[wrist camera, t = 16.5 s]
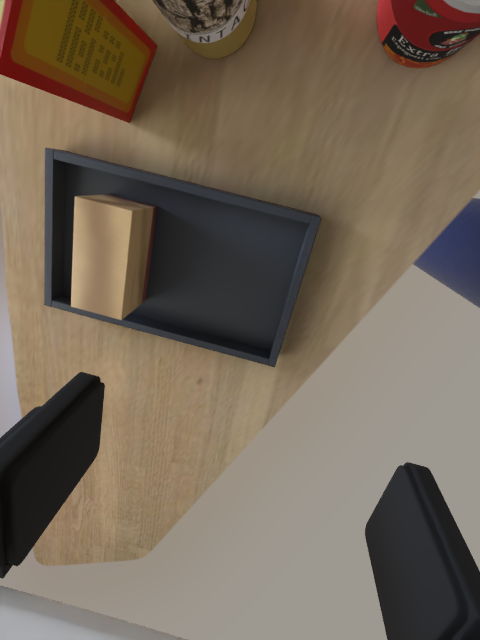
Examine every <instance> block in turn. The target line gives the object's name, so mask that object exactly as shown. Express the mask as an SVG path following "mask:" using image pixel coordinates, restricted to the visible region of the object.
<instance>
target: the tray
mask: <svg viewBox="0 0 480 640" xmlns="http://www.w3.org/2000/svg"><path fill="white" fill-rule="evenodd" d="M103 194H112V195H115V196H119V197H123V198H127V199H131V200H135V201H139V202H143V203H147V204H151V205H155V206H158V211H157V218H156V226H155V234H154V242H153V250H152V257H151V265H150V273H149V281H148V289H147V297H146V300H145V301H144V302H143V303H142V304H141V305H139V306H138V307H137V308H136V309H135V310H133V311H132V312H131V313H130V314H128V315H127V316H126V317H125V318H123V319H122V320H119V319H115V318H112V317H108V316H104V315H100V314H97V313H93V312H89V311H86V310H82V309H78V308H74V307H71V289H72V261H73V234H74V206H75V196H87V195H103ZM320 221H321V217H320V216H319V215H317V214H313V213H309V212H305V211H301V210H297V209H294V208H290V207H286V206H282V205H278V204H274V203H270V202H266V201H262V200H258V199H254V198H250V197H246V196H242V195H238V194H234V193H230V192H226V191H222V190H218V189H214V188H210V187H206V186H202V185H198V184H194V183H190V182H187V181H183V180H179V179H175V178H171V177H167V176H163V175H159V174H155V173H151V172H147V171H143V170H139V169H135V168H131V167H127V166H123V165H119V164H115V163H111V162H107V161H103V160H99V159H95V158H91V157H87V156H83V155H80V154H76V153H72V152H68V151H64V150H58V149H51V148H45V303H44V305H46V306H50V307H54V308H58V309H61V310H65V311H69V312H72V313H76V314H80V315H84V316H87V317H91V318H95V319H98V320H102V321H106V322H109V323H113V324H117V325H121V326H124V327H128V328H132V329H135V330H139V331H143V332H146V333H150V334H154V335H158V336H161V337H165V338H169V339H172V340H176V341H180V342H183V343H187V344H191V345H195V346H198V347H202V348H206V349H209V350H213V351H217V352H220V353H224V354H228V355H232V356H235V357H239V358H243V359H246V360H250V361H254V362H258V363H261V364H265V365H268V366H272V367H275V365H276V362H277V359H278V355H279V352H280V349H281V346H282V342H283V339H284V336H285V333H286V330H287V326H288V323H289V320H290V317H291V314H292V310H293V307H294V304H295V301H296V298H297V294H298V291H299V288H300V285H301V282H302V278H303V275H304V272H305V269H306V265H307V262H308V259H309V256H310V253H311V249H312V246H313V243H314V240H315V237H316V233H317V230H318V227H319V224H320Z"/></svg>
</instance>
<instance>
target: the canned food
mask: <svg viewBox="0 0 480 640" xmlns="http://www.w3.org/2000/svg"><path fill="white" fill-rule="evenodd" d="M377 26H378V33H379V36H380V40H381V43H382V45H383V47H384V49H385V51H386V52H387V54H388V55H389V56H390V57H391V58H392V59H393V60H394V61H396V62H397V63H399V64H401V65H404V66H406V67H412V68H425V67H430V66H433V65H436V64H439V63H441V62H443V61H444V60H446V59H448V58H450V57H451V56H452V55H453V54H455V53H456V52H457V51H459V50H460V49H461V48H463V47H464V46H465V45H466V44H468V43H469V42H470V41H472V40H473V39H474V38H476V37H477V36H478V35H479V34H480V0H379V2H378V9H377Z"/></svg>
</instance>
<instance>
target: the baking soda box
mask: <svg viewBox="0 0 480 640" xmlns="http://www.w3.org/2000/svg"><path fill="white" fill-rule="evenodd" d="M156 48H157V45H156V44H155V43H154V42H153V41H152V40H151V39H150V38H149V37H148V36H147V35H146V33H145V32H144V31H143V30H142V29H141V28H140V27H139V26H138V25H137V24H136V23H135V22H134V21H133V20H132V19H131V18H130V17H129V16H128V15H127V14H126V13H125V12H124V11H123V10H122V9H121V7H120V6H119V5H118V4H117V3H116V2H115V1H114V0H0V74H1V75H4V76H6V77H9V78H12V79H14V80H17V81H20V82H22V83H25V84H28V85H30V86H33V87H36V88H38V89H41V90H44V91H46V92H49V93H52V94H54V95H57V96H60V97H62V98H65V99H68V100H70V101H73V102H75V103H78V104H81V105H83V106H86V107H89V108H91V109H94V110H97V111H99V112H102V113H105V114H107V115H110V116H113V117H115V118H118V119H121V120H123V121H126V122H130V120H131V117H132V114H133V111H134V109H135V106H136V103H137V100H138V98H139V95H140V92H141V89H142V87H143V84H144V81H145V78H146V75H147V73H148V70H149V67H150V64H151V62H152V59H153V56H154V53H155V51H156Z"/></svg>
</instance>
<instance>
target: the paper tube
mask: <svg viewBox="0 0 480 640" xmlns="http://www.w3.org/2000/svg"><path fill="white" fill-rule="evenodd" d="M153 2H154V3H155V4H156V6H157V7H158V8H159V10H160V11H161V12H162V14H163V15H164V16H165V18H166V19H167V20H168V22H169V23H170V24H171V26H172V27H173V28H174V29H175V30H176V32H177V33H178V34H179V36H180V37H181V39H182V40H183V41H184V43H185V44H186V45H187V46H188V47H189V48H190V49H191V50H193V51H194V52H195V53H197V54H199V55H201V56H203V57H207V58H222V57H225V56H228V55H230V54H232V53H233V52H235V51H236V50H237V49H238V48H240V46H241V45H242V44H243V43H244V42H245V41H246V39H247V37H248V36H249V34H250V32H251V29H252V27H253V24H254V20H255V16H256V8H257V0H153Z"/></svg>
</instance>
